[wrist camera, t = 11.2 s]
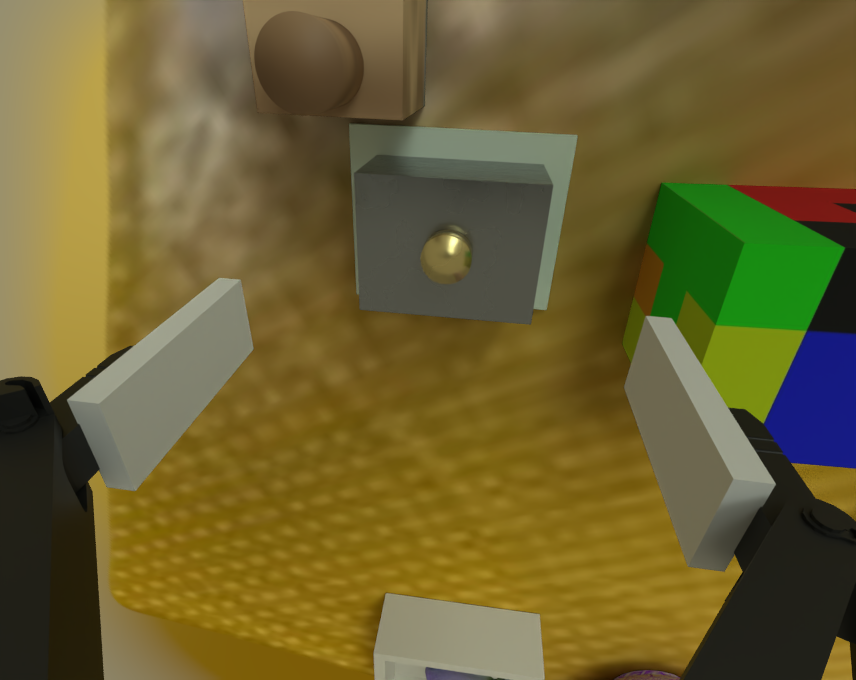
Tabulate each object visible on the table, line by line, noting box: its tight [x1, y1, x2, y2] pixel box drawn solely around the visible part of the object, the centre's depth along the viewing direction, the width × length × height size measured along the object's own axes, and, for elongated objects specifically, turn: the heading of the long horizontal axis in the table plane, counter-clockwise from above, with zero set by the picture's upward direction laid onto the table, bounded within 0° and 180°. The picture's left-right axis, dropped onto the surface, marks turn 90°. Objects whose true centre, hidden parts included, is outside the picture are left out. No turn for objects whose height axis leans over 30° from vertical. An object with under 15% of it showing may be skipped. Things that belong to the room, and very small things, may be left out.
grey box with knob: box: [354, 155, 553, 324], centre depth 25 cm, size 9×7×6 cm
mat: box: [349, 123, 578, 310], centre depth 28 cm, size 12×10×1 cm
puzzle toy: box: [622, 183, 856, 468], centre depth 23 cm, size 10×10×10 cm
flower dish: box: [374, 593, 545, 680], centre depth 48 cm, size 15×15×6 cm
